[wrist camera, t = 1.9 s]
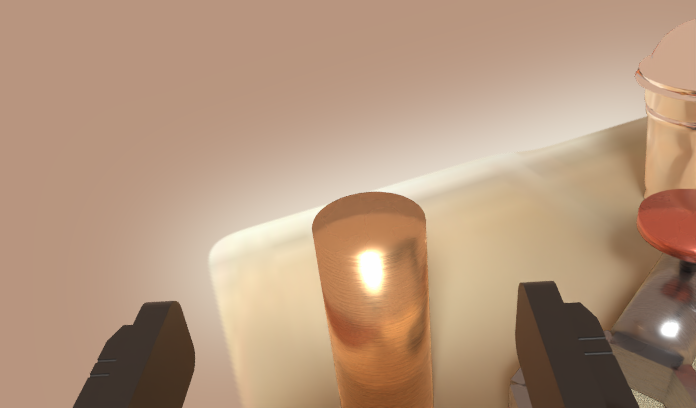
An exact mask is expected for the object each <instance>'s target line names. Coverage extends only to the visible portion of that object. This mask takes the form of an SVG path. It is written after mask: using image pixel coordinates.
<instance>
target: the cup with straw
mask: <svg viewBox="0 0 696 408" xmlns="http://www.w3.org/2000/svg"><path fill="white" fill-rule="evenodd" d="M635 78H636V81H637V82H638V83H639V85H641V86H642V87H643V88H645V102H646V113H647V115H648V116H647V138H646V160H645V181H644V183H645V187H646V191H645V193H644V199H646V198H647V197H649V196H650V195H652V194H655V193H658V192H661V191H665V190H671V189H696V19H693V20H690V21H687V22H685V23H683V24H681V25H679V26H677V27H676V28H674V29H672V30H671V31H670V32H669V33H667V35H666V36H664V38H663V39H662V40H661V41H660V43H659V44H658V45H657V47H656V48H655V50H654V51H653V53H652V55H649V56H647V57H646V58H644V59H643V60H642V61H641V62H640V64H639V68H638V70H637V71H636V74H635Z"/></svg>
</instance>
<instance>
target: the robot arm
mask: <svg viewBox="0 0 696 408" xmlns="http://www.w3.org/2000/svg"><path fill="white" fill-rule="evenodd" d="M515 338H516V349H517V355H518V359H519V363H520V366H521V370H522V373H523V377H524V380H525V384H526V387H527V391H528V394H529V398H530V401H531V405H532V408H639V406H638V404H637V402H636V399H635V397H634V395H633V393H632V391H631V389H630V387H629V385H628V383H627V380H626V378H625V376H624V374H623V372H622V370H621V368H620V366H619V363H618V361H617V359H616V357H615V355H613V351H612V349H611V346H610V344H609V342H608V340H606V336H605V334H604V332H603V330H602V327H601V325H600V323H599V321H598V319H597V317H595V316H594V315H593V314H592V313H591V312H590V311H589V310H588V309H587V308H586V307H584V306H583V305H582V304H581V303H580V302H578V303H563V300H562V298H561V296H560V293H559V291H558V288H557V286H556V284H555V282H554V281H544V282H526V283H520V284H519V288H518V301H517V315H516V330H515ZM194 366H195V351H194V346H193V343H192V340H191V336H190V333H189V330H188V327H187V324H186V321H185V318H184V315H183V312H182V309H181V306H180V304H179V303H178V302H177V301H165V302H148V303H144V304H143V306H142V307H141V309H140V311H139V313H138V315H137V317H136V320H135V322H134V324H133V325H124V326H122V327H121V328H120V329H119V330H118V331H117V332H116V333H115V334H114V335H113V336H112V337H111V338H110V339H109V340H108V341H107V342H106V344H105V346H104V348H103V350H102V352H101V354H100V356H99V358H98V363H96V364H95V365H94V367H93V369H92V371H91V373H90V378H88V379H87V381H86V383H85V385H84V387H83V389H82V391H81V393H80V394H79V396H78V398H77V400H76V402H75V404H74V406H73V408H182V406H183V403H184V400H185V397H186V394H187V391H188V388H189V385H190V382H191V378H192V375H193V372H194Z"/></svg>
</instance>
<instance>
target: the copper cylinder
mask: <svg viewBox="0 0 696 408" xmlns="http://www.w3.org/2000/svg"><path fill="white" fill-rule="evenodd" d="M312 232H313V238H314V244H315V250H316V256H317V262H318V268H319V274H320V280H321V286H322V292H323V298H324V304H325V310H326V316H327V322H328V328H329V334H330V340H331V346H332V352H333V358H334V364H335V370H336V376H337V382H338V388H339V394H340V400H341V406H342V408H433V383H432V360H431V336H430V312H429V289H428V265H427V242H426V219H425V214H424V212H423V210H422V209H421V207H420V206H419V205H418V204H416V203H415V202H414V201H412V200H410V199H408V198H406V197H404V196H401V195H397V194H393V193H386V192H366V193H358V194H354V195H349V196H346V197H343V198H340V199H338V200H336V201H334V202H332V203H330V204H329V205H327V206H326V207H324V208H323V209H322V210H321V211H320V212H319V213H318V214H317V216H316V217H315V219H314V221H313V224H312Z"/></svg>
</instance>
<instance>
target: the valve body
mask: <svg viewBox="0 0 696 408" xmlns="http://www.w3.org/2000/svg"><path fill="white" fill-rule="evenodd" d="M637 229H638V231H639V233H640V234H641V236H642V237H643V238H644V239H645V240H646V241H647V242H648V243H649V244H650V245H652V246H653V247H655V248H656V249H658V250H660V251H662V252H663V254H662V256H661V257H660V259H659V260H658V262H657V263H656V264H655V266H654V267H653V269H652V270H651V272H650V273H649V275H648V276H647V278H646V279H645V281H644V282H643V283H642V285H641V286H640V288H639V289H638V291H637V292H636V294H635V295H634V297H633V298H632V299H631V301H630V302H629V304H628V305H627V307H626V308H625V310H624V311H623V313H622V314H621V316H620V317H619V318H618V320H617V321H616V323H615V324H614V326H613V327H612V329H611V331H610V332H609V330H607V331H603V332H604V334H605V336H606V340H608V342H609V344H610V346H611V349H612V351H613V355H615V357H616V359H617V361H618V363H619V366H620V368H621V370H622V372H623V374H624V376H625V378H626V380H627V383H628V385H629V387H630V388H632V389H634V390H636V391H638V392H640V393H642V394H645V395H647V396H649V397H651V398H653V399H655V400H658V401H660V402H662V403H664V405H665V407H666V408H696V371H695V370H694V369H693V367H692V366H691V365H692V363H693V361H694V359H695V357H696V189H671V190H665V191H661V192H658V193H655V194H652V195H650V196H649V197H647V198H646V199H645V200H644V201H643V202H642V203H641V205H640V207H639V211H638V217H637ZM509 408H532V405H531V401H530V398H529V394H528V391H527V387H526V384H525V380H524V377H523V373H522V370H521V367H520V368H519V370H518V371H517V372H516V373H515V375H514V376H513V377H512V378H511V384H510V393H509Z"/></svg>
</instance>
